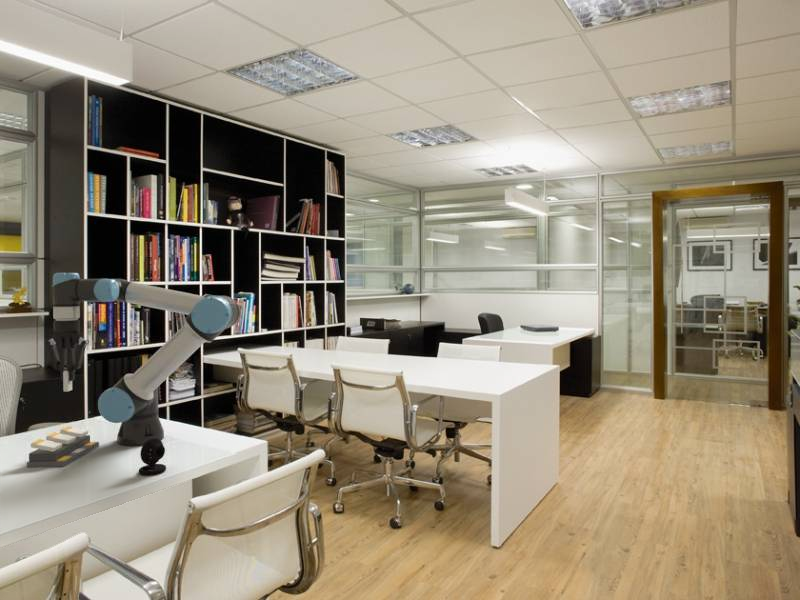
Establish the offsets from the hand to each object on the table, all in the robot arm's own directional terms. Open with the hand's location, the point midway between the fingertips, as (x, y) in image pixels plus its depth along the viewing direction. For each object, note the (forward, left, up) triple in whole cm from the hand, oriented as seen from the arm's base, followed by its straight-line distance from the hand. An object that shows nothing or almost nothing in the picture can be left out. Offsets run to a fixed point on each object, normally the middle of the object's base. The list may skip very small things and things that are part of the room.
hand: (67, 390), depth 183 cm
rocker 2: (0, +4, -15) cm, 15 cm away
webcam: (-36, +20, -21) cm, 46 cm away
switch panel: (-1, +4, -21) cm, 21 cm away
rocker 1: (0, +12, -15) cm, 19 cm away
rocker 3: (0, -3, -15) cm, 15 cm away
